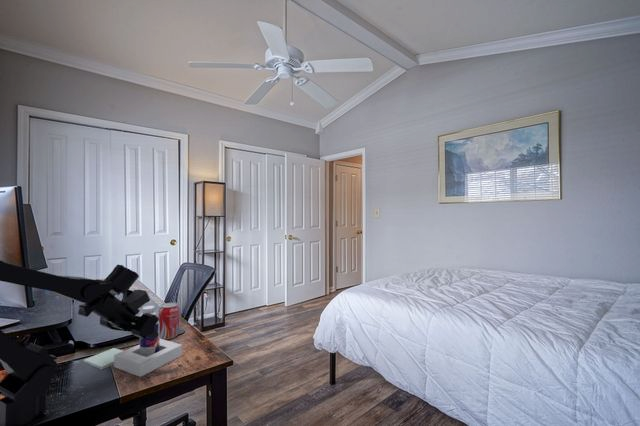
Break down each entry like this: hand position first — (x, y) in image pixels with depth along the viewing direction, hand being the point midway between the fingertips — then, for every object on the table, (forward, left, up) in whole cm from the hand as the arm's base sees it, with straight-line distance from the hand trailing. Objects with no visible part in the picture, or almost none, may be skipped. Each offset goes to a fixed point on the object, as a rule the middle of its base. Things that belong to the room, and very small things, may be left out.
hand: (147, 333), depth 91 cm
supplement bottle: (+15, +20, -9) cm, 27 cm away
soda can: (+16, +10, -9) cm, 21 cm away
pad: (-4, +12, -9) cm, 15 cm away
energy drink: (+1, 0, -9) cm, 9 cm away
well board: (+1, 0, -9) cm, 9 cm away
